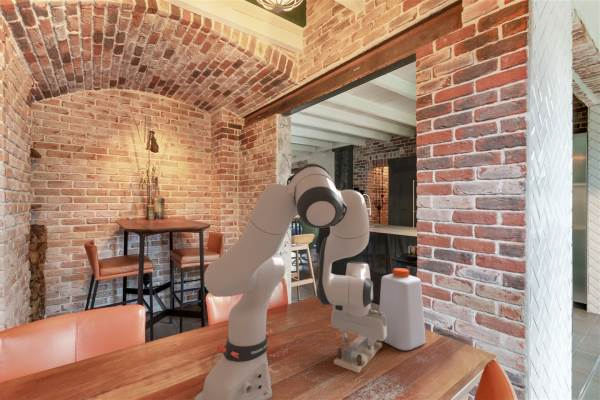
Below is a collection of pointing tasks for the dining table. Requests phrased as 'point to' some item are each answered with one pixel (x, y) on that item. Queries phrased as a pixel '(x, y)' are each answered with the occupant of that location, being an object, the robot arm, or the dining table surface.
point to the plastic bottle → (402, 309)
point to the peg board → (361, 359)
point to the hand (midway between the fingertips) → (358, 345)
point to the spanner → (356, 349)
